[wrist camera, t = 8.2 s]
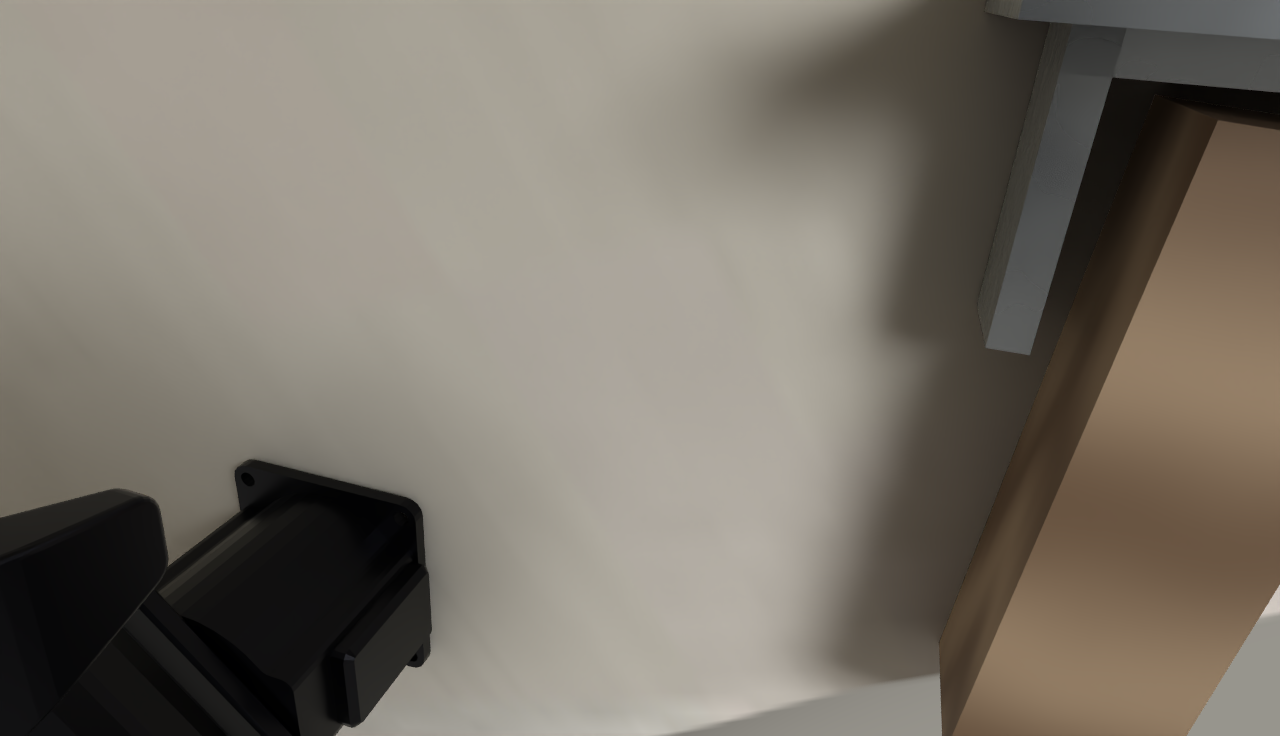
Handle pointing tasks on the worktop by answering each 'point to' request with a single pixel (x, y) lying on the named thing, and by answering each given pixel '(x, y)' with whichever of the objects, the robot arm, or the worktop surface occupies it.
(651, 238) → the worktop surface
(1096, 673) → the block
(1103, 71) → the bracket
